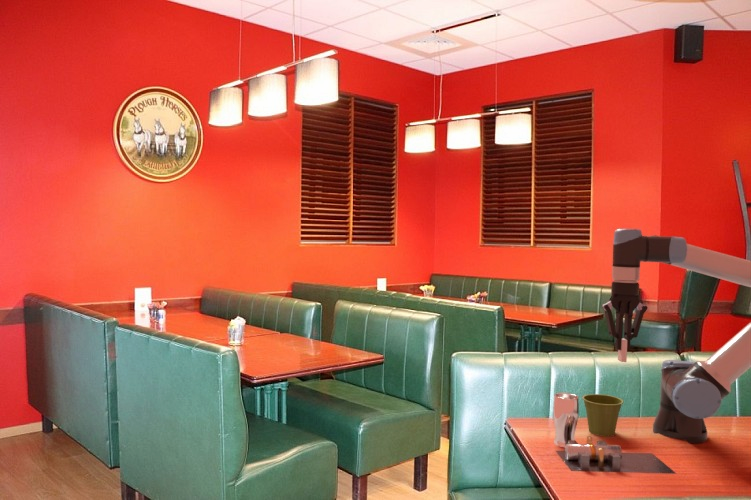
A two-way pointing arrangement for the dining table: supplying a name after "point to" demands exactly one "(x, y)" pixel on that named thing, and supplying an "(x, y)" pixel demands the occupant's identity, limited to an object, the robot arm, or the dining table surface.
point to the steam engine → (615, 461)
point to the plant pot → (602, 413)
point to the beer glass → (565, 417)
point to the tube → (590, 451)
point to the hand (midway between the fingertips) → (622, 360)
